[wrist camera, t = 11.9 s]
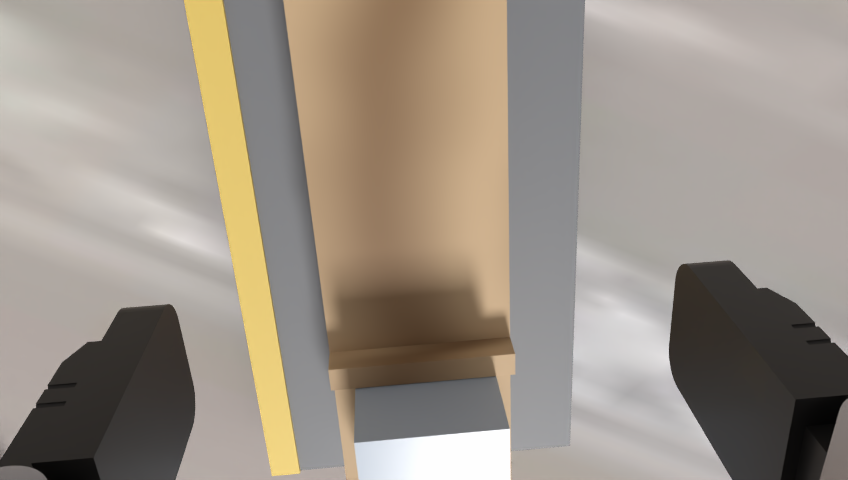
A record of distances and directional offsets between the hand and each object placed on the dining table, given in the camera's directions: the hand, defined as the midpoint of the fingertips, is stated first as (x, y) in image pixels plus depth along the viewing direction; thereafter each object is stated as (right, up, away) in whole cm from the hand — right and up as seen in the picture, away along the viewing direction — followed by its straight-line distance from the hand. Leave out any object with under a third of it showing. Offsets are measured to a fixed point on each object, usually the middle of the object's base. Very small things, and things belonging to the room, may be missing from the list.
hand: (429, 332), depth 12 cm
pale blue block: (0, -5, +14) cm, 15 cm away
